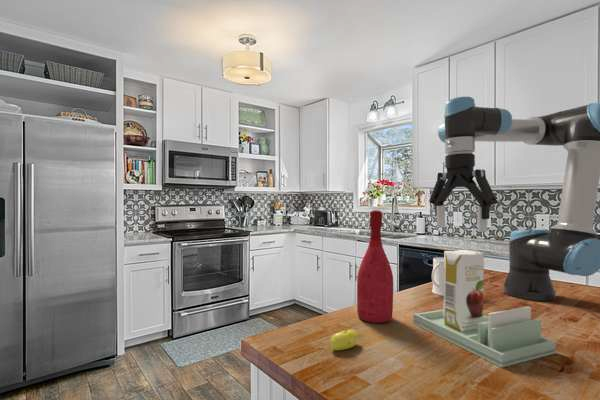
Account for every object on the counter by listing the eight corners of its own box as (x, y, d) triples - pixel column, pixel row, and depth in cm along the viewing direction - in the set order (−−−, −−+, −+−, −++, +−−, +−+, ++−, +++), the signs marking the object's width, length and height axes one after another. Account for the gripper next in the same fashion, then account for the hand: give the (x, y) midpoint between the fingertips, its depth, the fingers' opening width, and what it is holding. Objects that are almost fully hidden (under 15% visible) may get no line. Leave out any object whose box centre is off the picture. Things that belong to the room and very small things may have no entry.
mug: (440, 299, 111) (441, 263, 111) (420, 292, 119) (421, 259, 119) (463, 294, 117) (464, 260, 117) (442, 288, 124) (443, 256, 124)
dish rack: (460, 315, 95) (460, 284, 95) (555, 353, 72) (556, 311, 72) (413, 323, 89) (413, 289, 89) (501, 367, 66) (502, 322, 66)
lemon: (325, 348, 73) (325, 330, 73) (352, 340, 78) (352, 323, 78) (337, 356, 70) (337, 337, 70) (364, 347, 74) (365, 329, 74)
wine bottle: (399, 318, 93) (400, 210, 93) (381, 327, 86) (383, 211, 85) (368, 309, 99) (369, 209, 99) (349, 318, 92) (351, 210, 92)
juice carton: (438, 323, 86) (439, 250, 86) (462, 319, 90) (463, 248, 90) (462, 334, 79) (463, 254, 79) (487, 329, 83) (489, 253, 83)
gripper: (416, 158, 103) (417, 226, 104) (492, 147, 81) (493, 234, 81) (434, 159, 106) (435, 225, 107) (512, 148, 84) (513, 232, 84)
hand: (460, 229), depth 94 cm, fingers open, 13 cm apart
